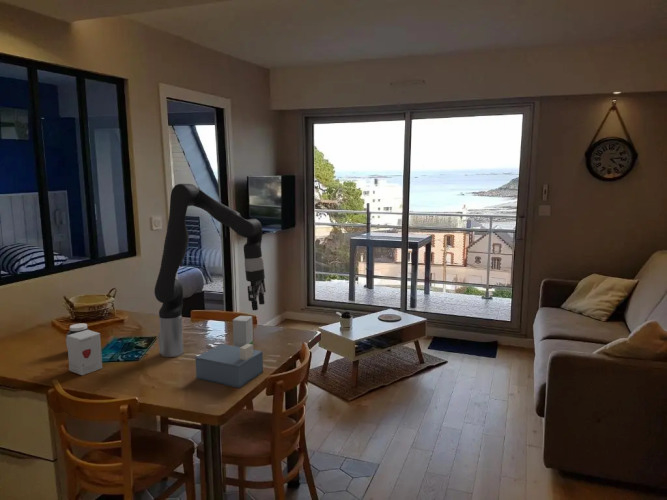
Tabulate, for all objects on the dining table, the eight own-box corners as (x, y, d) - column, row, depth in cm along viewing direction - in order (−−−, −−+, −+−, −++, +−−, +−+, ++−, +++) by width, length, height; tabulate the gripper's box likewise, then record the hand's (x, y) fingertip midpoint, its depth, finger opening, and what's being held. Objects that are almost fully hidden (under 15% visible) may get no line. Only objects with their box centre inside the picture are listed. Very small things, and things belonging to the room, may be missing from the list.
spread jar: (87, 345, 218) (85, 321, 216) (100, 351, 212) (98, 325, 210) (60, 353, 208) (57, 328, 207) (72, 359, 202) (70, 333, 200)
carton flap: (195, 358, 182) (194, 345, 181) (221, 345, 196) (221, 333, 196) (238, 367, 174) (238, 354, 173) (262, 352, 188) (262, 340, 187)
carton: (196, 378, 183) (195, 358, 182) (222, 363, 198) (221, 345, 196) (239, 388, 175) (238, 367, 174) (263, 372, 190) (262, 353, 188)
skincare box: (246, 355, 207) (245, 321, 204) (232, 354, 208) (231, 320, 205) (253, 348, 215) (253, 315, 212) (240, 347, 216) (239, 314, 213)
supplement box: (81, 376, 185) (78, 339, 183) (68, 371, 190) (65, 335, 188) (103, 368, 193) (100, 332, 191) (90, 363, 198) (87, 329, 195)
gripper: (251, 265, 200) (255, 302, 202) (239, 272, 186) (243, 312, 188) (268, 264, 198) (272, 302, 201) (257, 271, 184) (261, 311, 187)
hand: (258, 307), depth 194 cm, fingers open, 8 cm apart
